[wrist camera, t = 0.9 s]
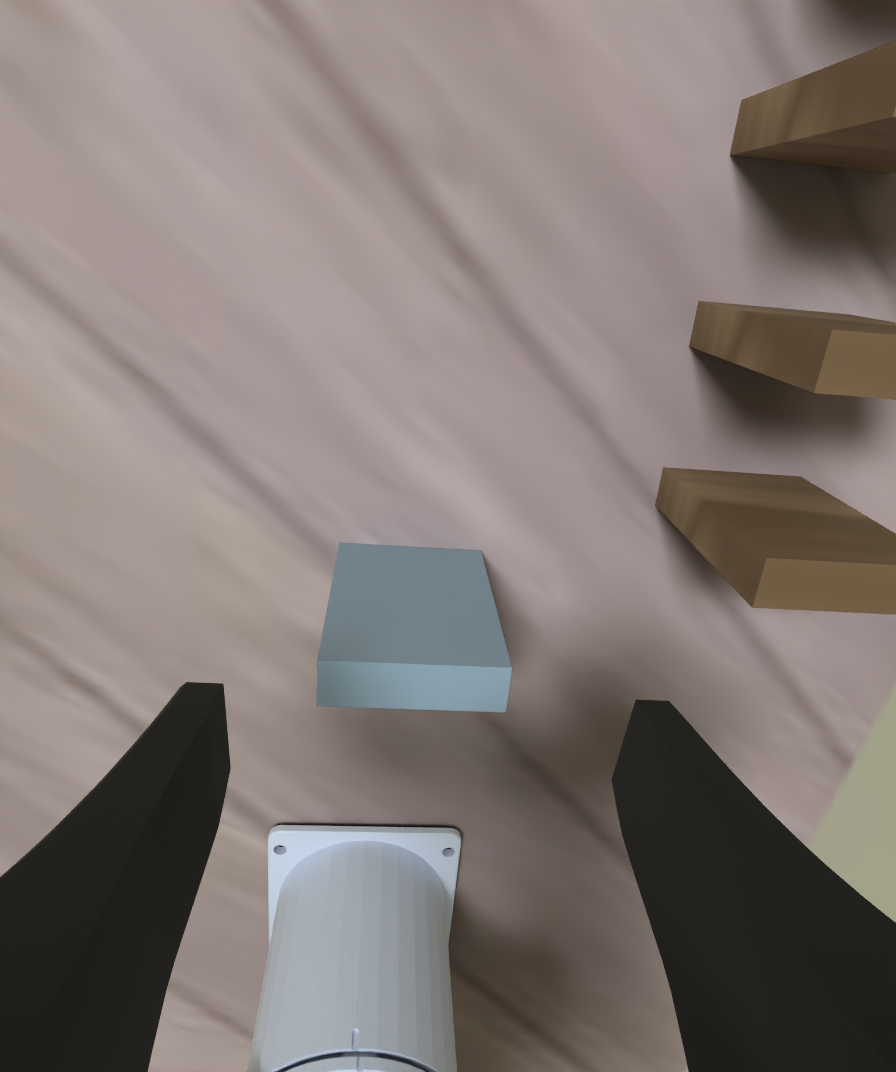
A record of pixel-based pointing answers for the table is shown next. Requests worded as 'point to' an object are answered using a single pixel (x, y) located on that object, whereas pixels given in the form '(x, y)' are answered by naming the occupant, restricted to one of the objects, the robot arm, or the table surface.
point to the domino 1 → (412, 632)
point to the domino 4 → (783, 540)
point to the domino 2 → (827, 116)
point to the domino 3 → (802, 347)
